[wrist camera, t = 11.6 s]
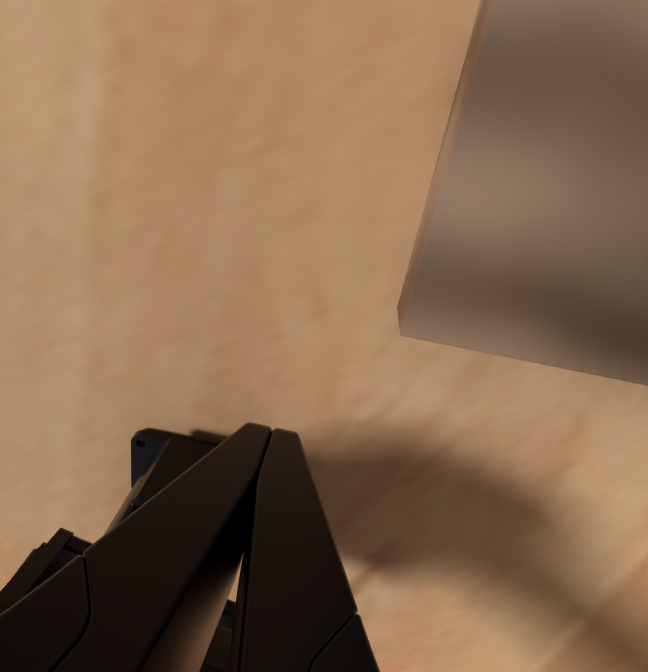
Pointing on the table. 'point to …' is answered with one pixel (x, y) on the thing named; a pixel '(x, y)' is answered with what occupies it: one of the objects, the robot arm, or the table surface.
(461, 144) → the brown wooden board
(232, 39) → the table surface
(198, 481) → the robot arm
